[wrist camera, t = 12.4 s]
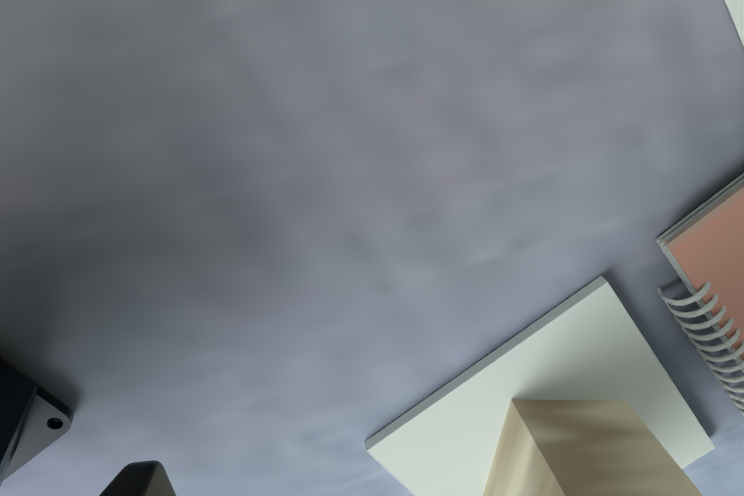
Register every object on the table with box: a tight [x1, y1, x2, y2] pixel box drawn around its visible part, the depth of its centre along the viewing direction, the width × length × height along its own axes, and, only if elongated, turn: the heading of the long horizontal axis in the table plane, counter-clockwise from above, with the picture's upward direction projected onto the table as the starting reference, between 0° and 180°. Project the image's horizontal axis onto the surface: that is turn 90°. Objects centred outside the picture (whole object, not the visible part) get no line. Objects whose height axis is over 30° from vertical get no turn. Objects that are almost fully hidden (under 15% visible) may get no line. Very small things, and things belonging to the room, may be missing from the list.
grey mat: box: [364, 276, 715, 496], centre depth 27 cm, size 11×11×1 cm
